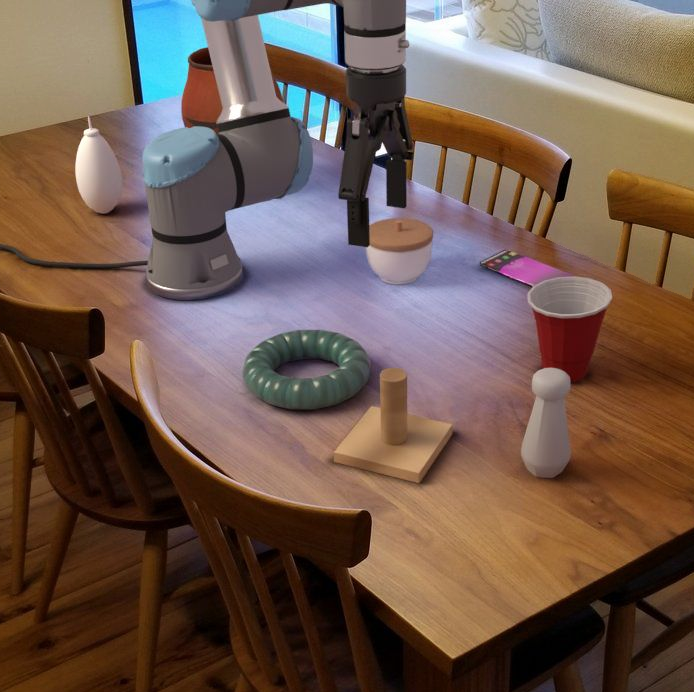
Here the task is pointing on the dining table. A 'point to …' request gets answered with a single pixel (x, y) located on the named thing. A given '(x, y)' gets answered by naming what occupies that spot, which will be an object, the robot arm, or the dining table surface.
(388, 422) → the peg stand
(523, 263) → the smartphone
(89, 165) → the white air blower bulb
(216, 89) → the terracotta vase
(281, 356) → the ring
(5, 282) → the dining table surface
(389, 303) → the dining table surface
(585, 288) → the plastic cup
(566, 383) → the salt shaker
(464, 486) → the dining table surface
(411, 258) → the trinket box
